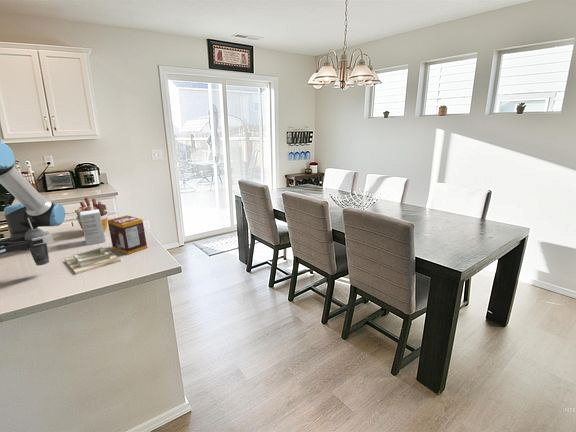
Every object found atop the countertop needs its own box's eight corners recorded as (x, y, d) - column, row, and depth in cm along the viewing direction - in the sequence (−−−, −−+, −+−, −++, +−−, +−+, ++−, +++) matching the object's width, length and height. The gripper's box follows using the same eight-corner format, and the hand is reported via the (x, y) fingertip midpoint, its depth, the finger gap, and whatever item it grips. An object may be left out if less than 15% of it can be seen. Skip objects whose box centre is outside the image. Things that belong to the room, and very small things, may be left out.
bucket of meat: (114, 232, 187) (108, 199, 181) (82, 238, 177) (74, 204, 171) (107, 224, 202) (101, 194, 196) (77, 230, 192) (70, 199, 186)
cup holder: (65, 261, 146) (63, 254, 145) (107, 250, 159) (105, 243, 158) (75, 274, 133) (74, 266, 132) (120, 261, 145) (119, 254, 144)
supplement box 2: (131, 242, 169) (126, 214, 165) (147, 248, 160) (142, 219, 156) (112, 248, 161) (106, 219, 157) (128, 254, 152) (122, 224, 148)
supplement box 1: (106, 241, 171) (100, 212, 166) (86, 245, 166) (79, 215, 161) (104, 237, 178) (98, 208, 174) (85, 240, 174) (79, 211, 169)
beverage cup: (41, 267, 128) (28, 221, 122) (27, 266, 129) (14, 220, 124) (57, 260, 135) (46, 216, 129) (43, 259, 136) (31, 215, 130)
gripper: (-22, 253, 125) (48, 238, 140) (-20, 269, 111) (57, 250, 126) (-28, 236, 122) (44, 222, 138) (-27, 249, 109) (53, 232, 124)
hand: (50, 235), depth 132 cm, fingers closed on beverage cup, 7 cm apart
